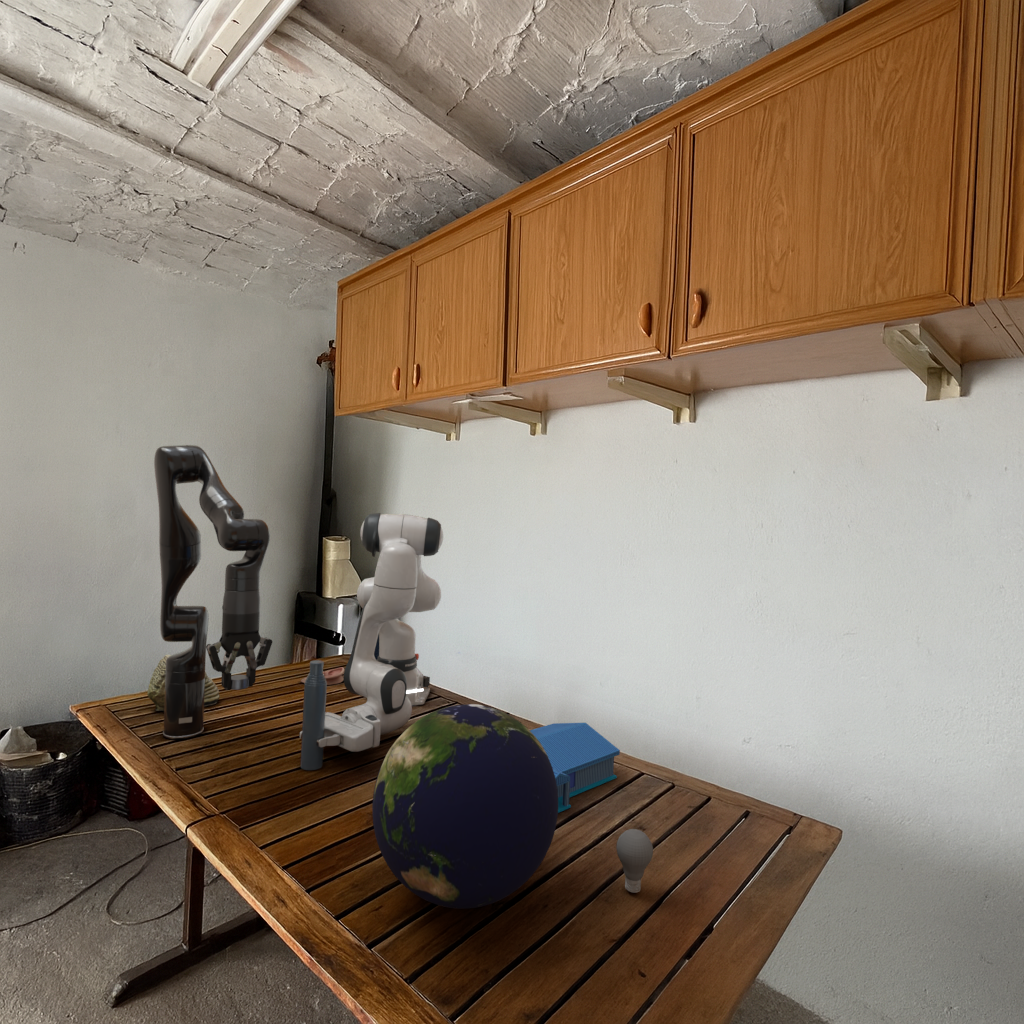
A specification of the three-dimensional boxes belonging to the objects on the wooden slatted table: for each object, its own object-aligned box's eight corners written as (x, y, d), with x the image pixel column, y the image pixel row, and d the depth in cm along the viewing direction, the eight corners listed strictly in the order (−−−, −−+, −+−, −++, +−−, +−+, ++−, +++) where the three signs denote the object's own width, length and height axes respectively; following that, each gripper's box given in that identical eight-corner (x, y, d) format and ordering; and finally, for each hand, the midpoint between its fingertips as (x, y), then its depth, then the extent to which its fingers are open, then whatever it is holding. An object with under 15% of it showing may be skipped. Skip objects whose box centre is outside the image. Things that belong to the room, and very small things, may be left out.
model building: (501, 837, 120) (504, 785, 120) (427, 790, 139) (429, 744, 138) (628, 782, 147) (630, 739, 147) (552, 748, 165) (553, 710, 165)
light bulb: (610, 879, 108) (613, 822, 108) (644, 879, 109) (647, 822, 109) (619, 902, 102) (622, 840, 102) (655, 901, 103) (658, 840, 103)
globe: (328, 919, 95) (336, 721, 95) (427, 827, 123) (434, 674, 122) (512, 985, 84) (522, 760, 83) (576, 867, 112) (584, 698, 111)
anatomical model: (296, 671, 211) (313, 663, 222) (295, 683, 211) (313, 674, 222) (332, 675, 208) (348, 666, 219) (332, 687, 208) (348, 678, 219)
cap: (246, 689, 137) (246, 679, 137) (225, 690, 136) (225, 680, 136) (250, 684, 141) (251, 674, 141) (230, 684, 141) (230, 674, 141)
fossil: (144, 707, 182) (145, 655, 182) (212, 696, 194) (213, 647, 194) (151, 716, 175) (153, 662, 175) (221, 703, 188) (223, 653, 188)
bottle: (300, 771, 145) (305, 664, 145) (300, 762, 150) (305, 659, 150) (322, 769, 147) (328, 664, 147) (322, 761, 152) (327, 658, 152)
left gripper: (213, 615, 131) (210, 697, 131) (280, 609, 141) (277, 686, 141) (201, 609, 137) (198, 689, 137) (266, 604, 146) (264, 678, 147)
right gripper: (331, 702, 165) (284, 715, 154) (384, 722, 153) (337, 737, 142) (330, 726, 165) (283, 741, 154) (383, 747, 153) (336, 765, 142)
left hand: (238, 687), depth 139 cm, fingers closed on cap, 4 cm apart
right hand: (309, 739), depth 148 cm, fingers closed on bottle, 5 cm apart
